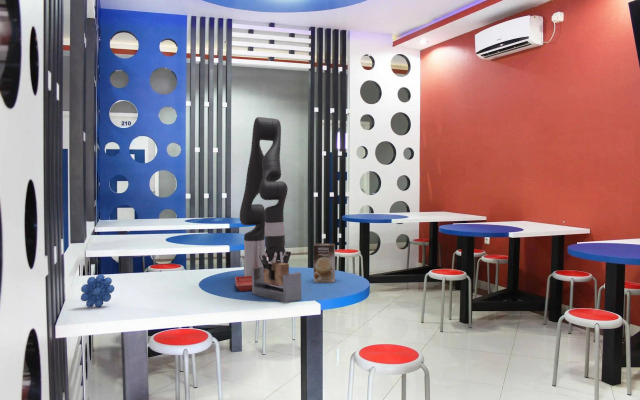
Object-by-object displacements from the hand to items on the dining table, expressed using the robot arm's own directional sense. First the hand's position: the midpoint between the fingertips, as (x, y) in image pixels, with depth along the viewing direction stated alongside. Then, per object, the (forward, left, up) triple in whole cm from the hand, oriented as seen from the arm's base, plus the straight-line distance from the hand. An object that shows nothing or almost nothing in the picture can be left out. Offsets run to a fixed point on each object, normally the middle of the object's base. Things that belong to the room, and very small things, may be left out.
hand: (276, 279), depth 204 cm
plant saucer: (-21, +6, -7) cm, 23 cm away
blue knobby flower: (-35, -54, -7) cm, 65 cm away
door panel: (0, 0, -2) cm, 2 cm away
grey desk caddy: (0, 0, -7) cm, 7 cm away
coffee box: (-8, +32, -7) cm, 34 cm away
